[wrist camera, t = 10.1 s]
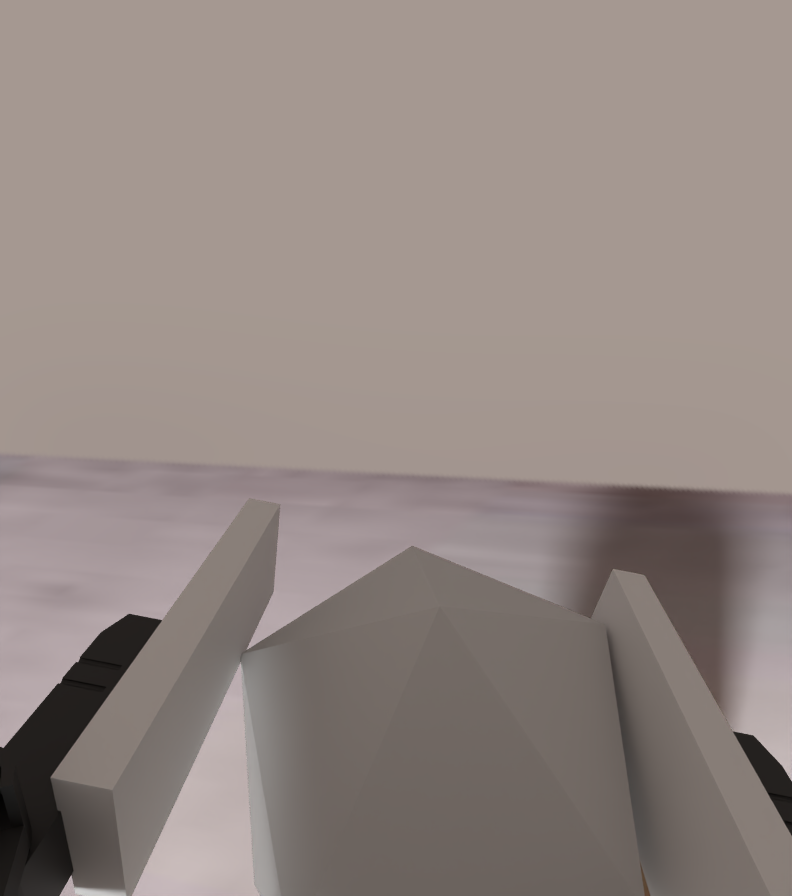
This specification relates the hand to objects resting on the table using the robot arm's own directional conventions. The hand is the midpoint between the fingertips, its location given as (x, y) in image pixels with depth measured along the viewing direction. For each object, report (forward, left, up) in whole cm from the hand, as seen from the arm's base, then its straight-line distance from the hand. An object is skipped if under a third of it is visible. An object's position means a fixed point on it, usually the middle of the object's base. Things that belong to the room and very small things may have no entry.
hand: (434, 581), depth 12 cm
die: (-1, +4, -4) cm, 6 cm away
